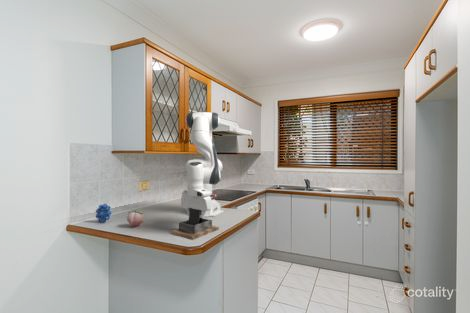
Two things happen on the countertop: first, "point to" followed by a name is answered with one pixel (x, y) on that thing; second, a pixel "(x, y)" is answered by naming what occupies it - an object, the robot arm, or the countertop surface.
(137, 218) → the decorative fruit
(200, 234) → the socket board
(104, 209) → the grapes
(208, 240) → the countertop surface
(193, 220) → the phone stand
